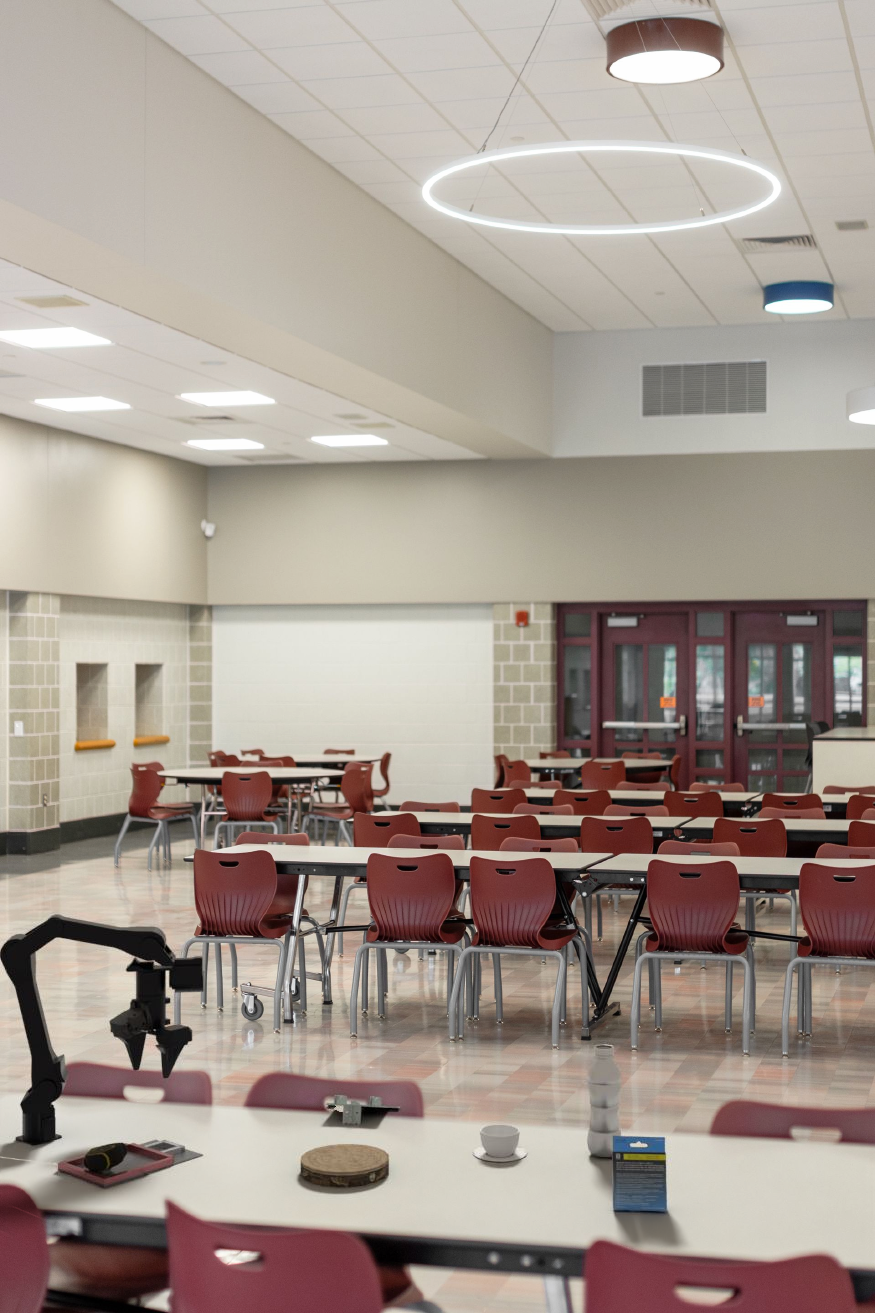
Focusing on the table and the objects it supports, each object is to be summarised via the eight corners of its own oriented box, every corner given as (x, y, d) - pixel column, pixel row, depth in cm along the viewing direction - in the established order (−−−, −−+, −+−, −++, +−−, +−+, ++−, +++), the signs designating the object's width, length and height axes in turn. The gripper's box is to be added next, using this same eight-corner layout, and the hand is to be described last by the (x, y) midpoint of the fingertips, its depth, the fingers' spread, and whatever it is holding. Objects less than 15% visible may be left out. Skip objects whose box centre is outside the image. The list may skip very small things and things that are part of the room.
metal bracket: (388, 1097, 289) (315, 1094, 292) (387, 1128, 287) (313, 1124, 290) (402, 1098, 303) (331, 1095, 305) (400, 1128, 301) (330, 1124, 303)
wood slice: (282, 1175, 261) (281, 1158, 261) (346, 1155, 273) (346, 1138, 273) (343, 1196, 250) (342, 1178, 251) (407, 1173, 262) (407, 1157, 262)
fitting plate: (57, 1171, 263) (57, 1163, 263) (155, 1143, 280) (155, 1134, 280) (104, 1188, 254) (104, 1179, 254) (203, 1158, 271) (203, 1149, 271)
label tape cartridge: (666, 1204, 245) (665, 1130, 245) (667, 1213, 241) (666, 1137, 241) (612, 1203, 246) (611, 1129, 246) (612, 1211, 242) (612, 1136, 242)
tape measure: (131, 1157, 265) (126, 1137, 265) (118, 1172, 258) (113, 1151, 258) (96, 1165, 265) (90, 1145, 265) (82, 1180, 259) (77, 1159, 259)
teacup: (509, 1167, 265) (509, 1141, 265) (462, 1158, 270) (462, 1133, 270) (536, 1153, 273) (536, 1127, 273) (491, 1144, 278) (490, 1119, 279)
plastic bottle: (582, 1159, 268) (581, 1049, 269) (593, 1148, 275) (592, 1041, 275) (616, 1163, 266) (616, 1052, 267) (626, 1152, 272) (625, 1044, 273)
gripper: (87, 993, 285) (87, 1074, 284) (147, 1007, 272) (147, 1091, 272) (134, 985, 293) (134, 1063, 293) (194, 997, 281) (194, 1079, 280)
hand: (150, 1074), depth 284 cm, fingers open, 9 cm apart
